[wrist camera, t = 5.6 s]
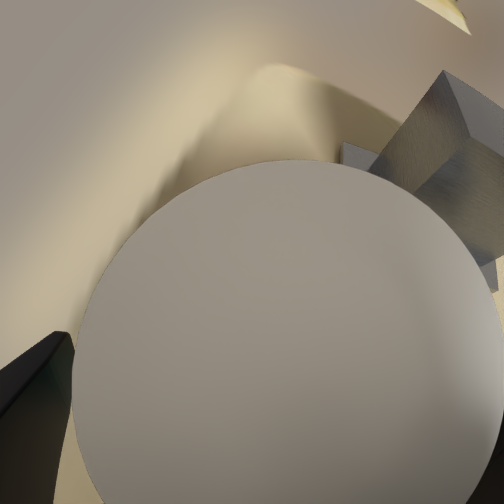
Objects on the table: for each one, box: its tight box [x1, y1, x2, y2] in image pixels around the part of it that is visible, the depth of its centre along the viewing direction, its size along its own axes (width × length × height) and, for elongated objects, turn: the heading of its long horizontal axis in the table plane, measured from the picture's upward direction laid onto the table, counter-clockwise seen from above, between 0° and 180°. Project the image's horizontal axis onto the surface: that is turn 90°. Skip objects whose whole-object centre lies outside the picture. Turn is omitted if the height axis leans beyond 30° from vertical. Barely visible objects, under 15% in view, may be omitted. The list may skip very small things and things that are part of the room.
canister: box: [72, 160, 504, 504], centre depth 8 cm, size 4×4×13 cm
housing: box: [340, 70, 504, 293], centre depth 16 cm, size 8×14×10 cm, turn 80°
